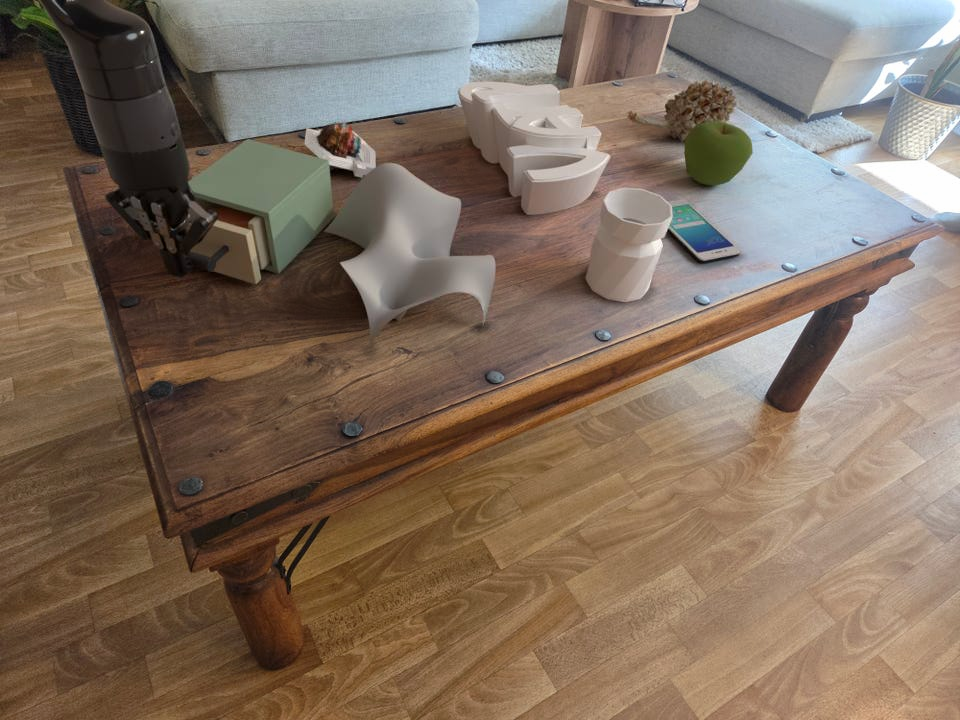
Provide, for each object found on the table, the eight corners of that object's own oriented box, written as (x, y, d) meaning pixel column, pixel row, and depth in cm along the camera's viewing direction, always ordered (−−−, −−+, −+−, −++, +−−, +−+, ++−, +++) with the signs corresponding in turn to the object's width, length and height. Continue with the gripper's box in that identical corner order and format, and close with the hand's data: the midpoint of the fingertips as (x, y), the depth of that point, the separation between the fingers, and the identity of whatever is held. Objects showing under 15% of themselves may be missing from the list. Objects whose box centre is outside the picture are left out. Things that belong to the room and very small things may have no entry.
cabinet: (278, 274, 85) (268, 213, 79) (195, 248, 87) (178, 187, 81) (334, 218, 95) (328, 160, 89) (257, 196, 97) (247, 138, 91)
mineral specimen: (293, 137, 107) (303, 97, 102) (361, 152, 113) (374, 114, 108) (304, 180, 100) (316, 139, 95) (376, 193, 105) (390, 155, 101)
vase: (614, 255, 94) (634, 180, 86) (661, 287, 90) (688, 211, 81) (571, 276, 90) (588, 199, 81) (618, 311, 85) (642, 233, 77)
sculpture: (509, 321, 82) (518, 258, 75) (359, 352, 76) (355, 286, 69) (444, 214, 98) (446, 153, 91) (316, 232, 92) (308, 169, 85)
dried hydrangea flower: (702, 120, 129) (719, 69, 122) (735, 142, 123) (754, 90, 116) (609, 134, 121) (621, 80, 114) (639, 159, 115) (654, 104, 108)
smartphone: (684, 198, 105) (743, 251, 96) (683, 203, 106) (741, 256, 96) (645, 204, 103) (701, 259, 93) (644, 209, 103) (699, 264, 94)
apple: (677, 192, 108) (696, 135, 101) (670, 162, 116) (688, 106, 109) (742, 201, 108) (766, 144, 101) (732, 169, 115) (753, 115, 108)
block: (226, 257, 83) (219, 227, 80) (216, 238, 86) (209, 208, 83) (261, 249, 85) (256, 219, 82) (251, 230, 88) (245, 201, 85)
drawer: (235, 305, 79) (223, 255, 74) (154, 279, 81) (137, 229, 76) (311, 229, 91) (306, 182, 86) (240, 208, 93) (230, 161, 88)
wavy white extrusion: (615, 224, 100) (632, 160, 92) (514, 235, 95) (523, 169, 88) (534, 120, 123) (542, 62, 116) (449, 126, 119) (452, 66, 111)
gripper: (53, 131, 63) (110, 275, 75) (170, 163, 60) (210, 307, 73) (110, 101, 68) (155, 241, 80) (220, 130, 66) (249, 269, 78)
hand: (181, 272), depth 76 cm, fingers closed
